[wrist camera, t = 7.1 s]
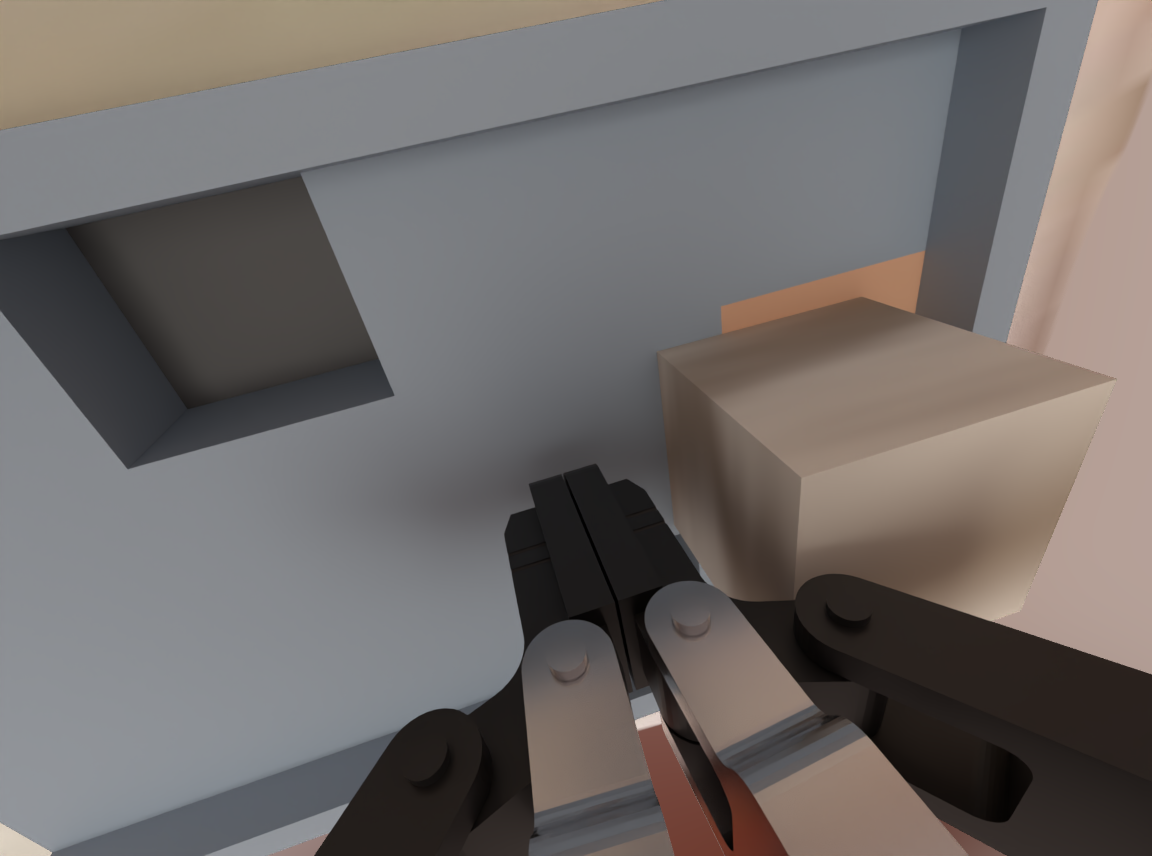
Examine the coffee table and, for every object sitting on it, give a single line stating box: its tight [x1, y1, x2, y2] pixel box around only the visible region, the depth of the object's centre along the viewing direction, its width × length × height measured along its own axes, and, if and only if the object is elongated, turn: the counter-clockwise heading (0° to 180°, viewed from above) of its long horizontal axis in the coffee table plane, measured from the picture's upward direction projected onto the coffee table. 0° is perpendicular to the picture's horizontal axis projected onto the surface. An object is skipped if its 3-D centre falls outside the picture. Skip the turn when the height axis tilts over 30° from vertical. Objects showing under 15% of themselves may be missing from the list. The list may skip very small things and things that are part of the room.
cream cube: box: [657, 297, 1117, 621], centre depth 10 cm, size 5×5×5 cm
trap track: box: [0, 0, 1098, 856], centre depth 12 cm, size 16×26×4 cm, turn 101°
